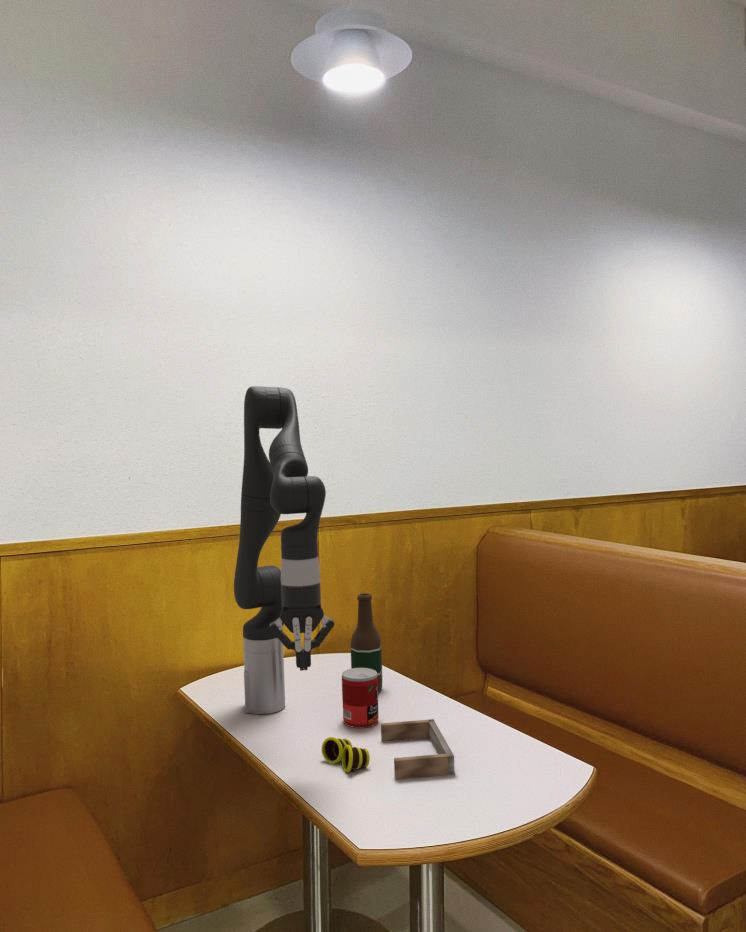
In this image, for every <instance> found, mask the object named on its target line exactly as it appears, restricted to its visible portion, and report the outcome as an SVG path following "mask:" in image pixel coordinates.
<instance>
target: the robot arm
mask: <svg viewBox="0 0 746 932" xmlns="http://www.w3.org/2000/svg"><path fill="white" fill-rule="evenodd" d="M297 407H298V406H297V402H296V396H295V395H294V393H293V391H292V390H291V389H289V388H286V387H279V386H248V388H247V389H246V392H245V395H244V402H243V439H244V440H243V443H244V444H243V448H244V450H243V453H244V455H243V465H242V466H243V467H242V468H243V469H242V479H241V480H242V481H241V495H240V496H241V497H240V523H239V525H240V526H239V538H238V539H239V540H238V550H237V556H236V564H235V570H234V578H233V579H234V580H233V595H234V600H235V602H236V604H237V605H238V607H239V608H240V609H242V610H252V609H257V608H258V609H259V608H260V610H259V611H258V613H256V615H254V617H252V618H250V619H249V620H247V621H246V622H244V624H243V627H242V636H243V637H242V640H243V641H242V642H243V643H242V645H243V666H244V667H243V668H244V669H243V670H244V671H243V683H244V685H243V687H244V689H243V690H244V712H245V714H254V715H268V714H274V713H278V712H280V711H282V710H283V709H284V708H285V707H286V690H285V686H286V685H285V683H286V682H285V662H284V661H285V660H284V658H285V657H284V656H285V655H284V647H285V648H286V649H287V650H293V651H294V652H295V664H296V667H297V669H299V671H300V672H302V671H303V672H304V671H308V670H309V669H308V668H310V667H311V666H312V653H311V652H312V650H313V649H316V648H320V647H321V644H322V643H323V642H324V641H325V639H326V638H327V636H328V635H329V633H330V632H331V631H332V629H333V628H334V626H335V621H334V619H333V618H331V617H328V616H327V615H326V614H325V612H324V609H323V607H322V597H321V595H322V594H321V568H320V567H321V566H320V561H319V543H318V541H319V540H318V539H319V537H318V536H319V534H318V533H319V528H320V521H321V518H322V513H323V509H324V505H325V502H326V495H327V490H326V486H325V484H324V482H323V481H322V479H321V478H320V477H318V476H315V475H314V476H312V475H310V476H309V467H308V463H307V460H306V457H305V453H304V450H303V447H302V441H301V434H300V425H299V424H300V423H299V416H298V415H299V414H298V408H297ZM260 429H268V430H270V429H275V430H279V429H281V430H280V431H279V432H278V434H276V436H275V437H274V438H273V439H272V442H270V446H269V448H268V456H267V454H266V453H265V449H264V448H263V445H262V442H261V436H260ZM296 514H297V515H298V514H305V516H304V519H302V521H301V522H299V523H297V524H293V525H290V526H289V525H288V526H286V527H285V528H283V529H282V530H281V533H280V550H281V551H280V552H281V556H280V557H281V564H280V568H279V567H278V566H276V565H265V566H264V565H263V566H258V564H259V559H260V556H261V552H262V549H263V548H264V546H265V544H266V542H267V540H268V539H269V538H270V536H271V534H272V532H273V531H274V529H275V528H276V526H277V524H278V523H279V520H280V518H281V515H296ZM320 623H321V624H320ZM319 624H320V625H321V628H320V630H319V631H318V633H317V634H316V635H315V637H314V638H313V639H312V633H313V632H314V631H315V630H316V629H317V627H318V626H319ZM284 626H285V627H286V628H287V630H288V631H289V632H290V633H292V634H293V638H294V639H293V640H294V641H293V640H291V638H289V636H288V635H287V634H286V633H285V632H284V631H283V629H284ZM301 634H303V646H302V638H301V637H302V636H301Z"/></svg>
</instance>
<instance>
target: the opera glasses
mask: <svg viewBox="0 0 746 932" xmlns="http://www.w3.org/2000/svg"><path fill="white" fill-rule="evenodd" d="M321 754H322V757H323V758H324V760H325V761H326V762H327V761H328V762H327V763H329V762H331V763H330V764H332V763H335V764H337V763H339V762H340V761H341V765H342V766H341V767H342V770H343V771H344V772H345V773H351V770H354V769H355V770H358V769H361V768H367V767H368V766H369V764H370V759H371V758H370V756H371V755H370V752H369V750H368V749H367V748H366V747H365V748H361V747H357V746H353V744H352V742H351V740H350V739H348V738H338V737H335V736H329V737H327V738H325V739H324V741H323V742H322V745H321Z"/></svg>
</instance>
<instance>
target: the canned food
mask: <svg viewBox="0 0 746 932" xmlns="http://www.w3.org/2000/svg"><path fill="white" fill-rule="evenodd" d="M341 692H342V693H341V694H342V695H341V696H342V697H341V698H342V700H341V701H342V720H343V722H345V723H344V724H345V725H347V726H348V725H349V726H348V727H351V726H353V727H352V728H356V727H365V728H369V726H370V727H372V725H373V726H375V725H376V724H377V723H378V721H379V718H380V717H379V693H378V677H377V672H376V671H375V670H373V669H369V668H352V669H351V668H348V669H345V670H344V671H342V673H341Z"/></svg>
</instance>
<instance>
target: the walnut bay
mask: <svg viewBox="0 0 746 932" xmlns="http://www.w3.org/2000/svg"><path fill="white" fill-rule="evenodd" d="M380 735H381V736H380V738H381V739H380V740H381V743H387V742H399V741H400V740H401V741H411V740H410V739H414V740H422V738H426V739H429V740H430V742H431V744H432V746H433V747H434V750H435V749H436V750H435V752H436V751H437V752H436V753H438V754H427V755H416V756H415V755H414V756H403V757H394V758H393V762H394V763H393V767H394V768H393V769H394V774H393V775H394V779H395V780H402V779H414V778H425V777H436V776H446V775H447V776H448V775H456V774H455V773H456V772H455V755H454V753H453V751H452V749H451V747H450V746H449V744H448V742H447V740H446V738H445V737H444V735H443V733H442V732H441V730H440V728H439V726H438V724H437V723H436V721H435V719H433V718H432V719H431V718H430V719H418V720H417V719H416V720H408V721H407V720H405V721H393V722H392V721H391V722H381V723H380Z"/></svg>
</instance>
